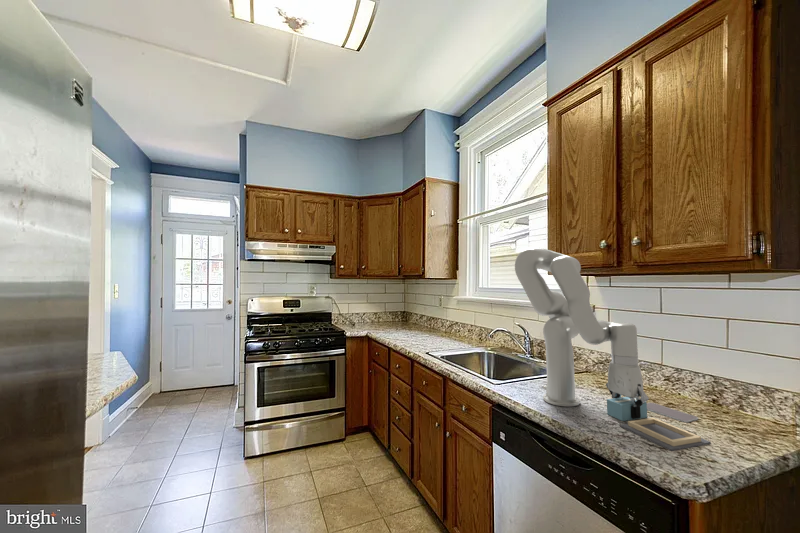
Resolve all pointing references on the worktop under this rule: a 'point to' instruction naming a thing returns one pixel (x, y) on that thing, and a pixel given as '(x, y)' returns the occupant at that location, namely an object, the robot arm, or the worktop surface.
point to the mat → (664, 434)
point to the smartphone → (671, 413)
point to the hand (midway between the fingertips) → (626, 413)
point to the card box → (623, 408)
